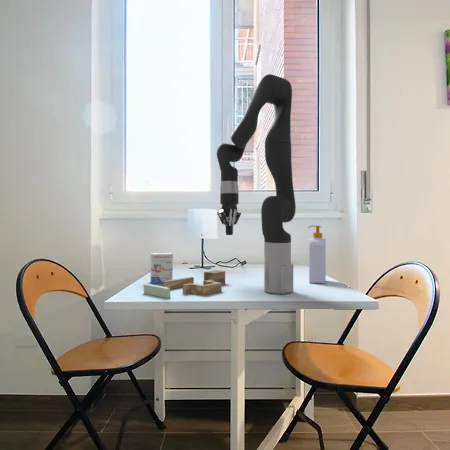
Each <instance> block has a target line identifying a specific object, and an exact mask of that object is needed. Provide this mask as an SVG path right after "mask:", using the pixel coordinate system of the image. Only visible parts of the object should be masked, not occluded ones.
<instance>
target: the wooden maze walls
mask: <svg viewBox="0 0 450 450" xmlns="http://www.w3.org/2000/svg"><path fill="white" fill-rule="evenodd" d="M202 282H203V283H202V284H198V283H195V278H194V277H193V276H187V277H182V278H176V279H173V280H168V281H163V283H162V287H167V288H170V290H174V289H181V288H182V295H188V294H195V295H201V296H207V295H212V294H216V292H217V293H219V292H220V293H221V292H222V285H223V284H222V283H220V282H214V280H206V281H204V280H203V281H202Z"/></svg>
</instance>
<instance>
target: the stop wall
mask: <svg viewBox="0 0 450 450" xmlns="http://www.w3.org/2000/svg"><path fill="white" fill-rule="evenodd" d="M143 294H146V295H151V296H154V297H155V296H156V297H161V298H163V299H164V298H165V299H169V298H171V289H170V288H167V287H163V285H162V286H161V285H157V284H156V285H155V284H152V283H144V284H143Z"/></svg>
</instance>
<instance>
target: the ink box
mask: <svg viewBox="0 0 450 450" xmlns="http://www.w3.org/2000/svg"><path fill="white" fill-rule="evenodd" d="M173 254H174V253H173V252H151V253H150V284H163V281H168V280H174V279H173V278H174V277H173V276H174V274H173V271H174V267H173V266H174V264H173V262H174V256H173Z"/></svg>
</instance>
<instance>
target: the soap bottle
mask: <svg viewBox="0 0 450 450" xmlns="http://www.w3.org/2000/svg"><path fill="white" fill-rule="evenodd" d="M311 227H314V225H310V226H307V228H308V229H309V228H311ZM320 228H322V226H320V225H315V232H313V233H312V238H309V242H308V243H309V245H308V249H309V250H308V257H309V258H308V262H309V263H308V267H309V268H308V281H309V284H320V283H322V284H321V285H323V284H324V285H326V282H327V281H326V280H327V279H326V275H327V274H326V271H327V270H326V269H327V268H326V267H327V265H326V264H327V263H326V261H327V260H326V259H327V254H326V251H327V249H326V248H327V245H326V244H327V241H326V238H324V237H323V232H320Z"/></svg>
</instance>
